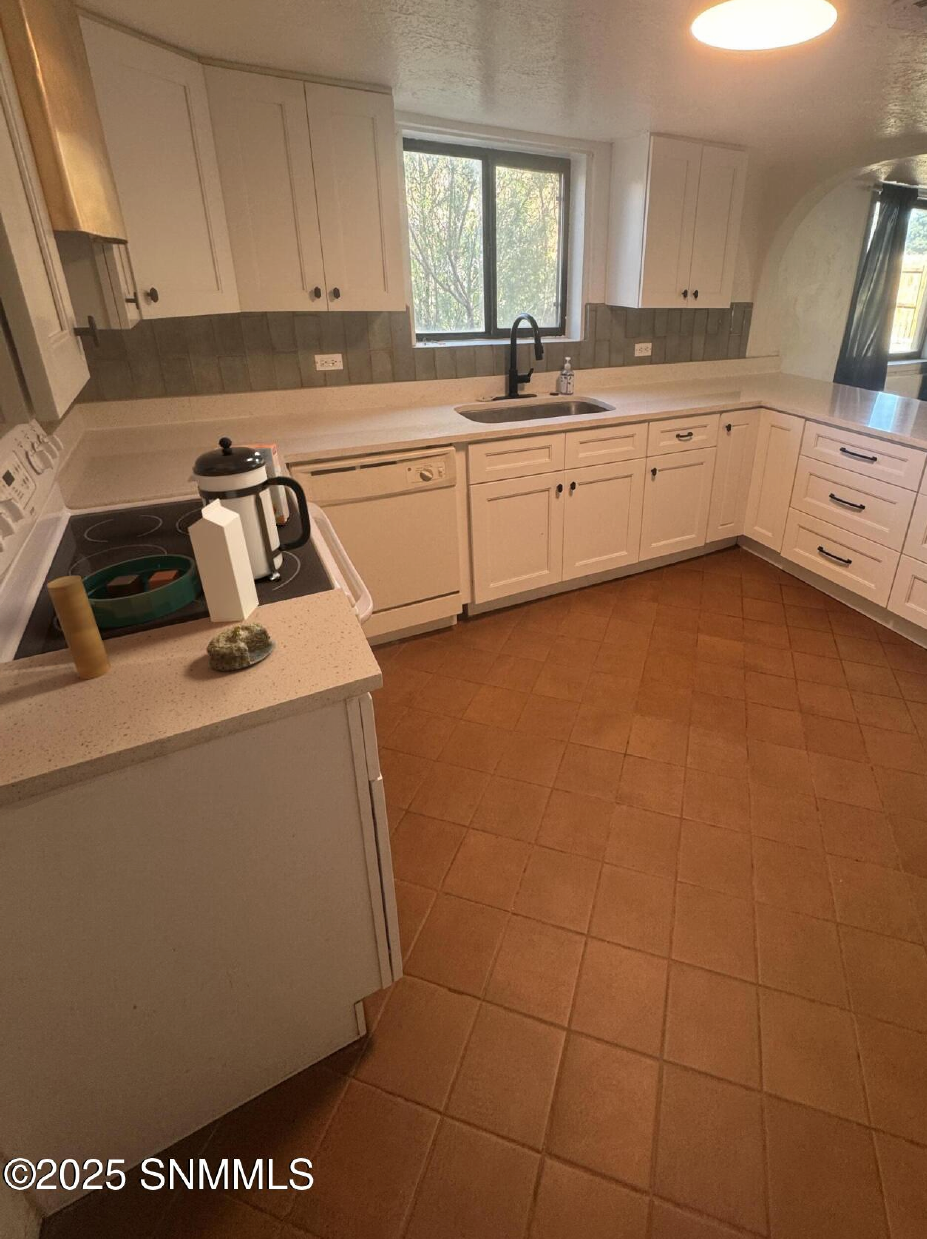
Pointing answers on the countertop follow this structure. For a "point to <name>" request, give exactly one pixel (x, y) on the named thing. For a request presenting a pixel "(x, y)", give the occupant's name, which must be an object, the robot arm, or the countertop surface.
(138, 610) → the bowl
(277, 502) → the cracker box
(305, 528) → the coffee press
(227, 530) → the milk
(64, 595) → the tan cylinder
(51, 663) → the countertop surface
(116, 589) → the walnut block
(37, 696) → the countertop surface
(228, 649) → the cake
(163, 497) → the countertop surface
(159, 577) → the terracotta block
